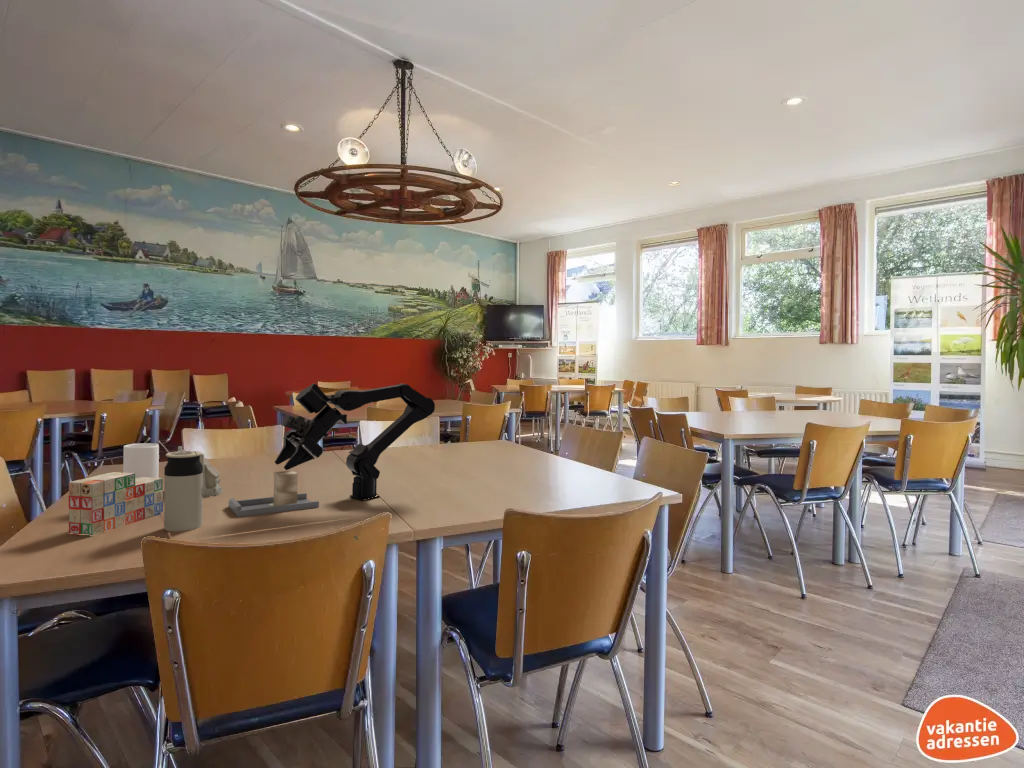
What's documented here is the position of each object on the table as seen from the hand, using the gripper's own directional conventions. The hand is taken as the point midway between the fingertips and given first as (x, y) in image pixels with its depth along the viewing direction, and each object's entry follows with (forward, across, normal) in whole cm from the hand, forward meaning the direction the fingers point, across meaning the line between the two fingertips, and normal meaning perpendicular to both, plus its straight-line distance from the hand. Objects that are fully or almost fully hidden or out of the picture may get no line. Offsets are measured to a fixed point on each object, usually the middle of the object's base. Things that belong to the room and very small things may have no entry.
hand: (280, 466), depth 161 cm
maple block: (+7, 0, +9) cm, 11 cm away
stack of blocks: (+34, -4, -17) cm, 39 cm away
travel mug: (+26, +8, -9) cm, 28 cm away
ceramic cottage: (+20, -31, -3) cm, 37 cm away
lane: (+9, 0, +7) cm, 12 cm away
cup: (+30, -24, -13) cm, 41 cm away
